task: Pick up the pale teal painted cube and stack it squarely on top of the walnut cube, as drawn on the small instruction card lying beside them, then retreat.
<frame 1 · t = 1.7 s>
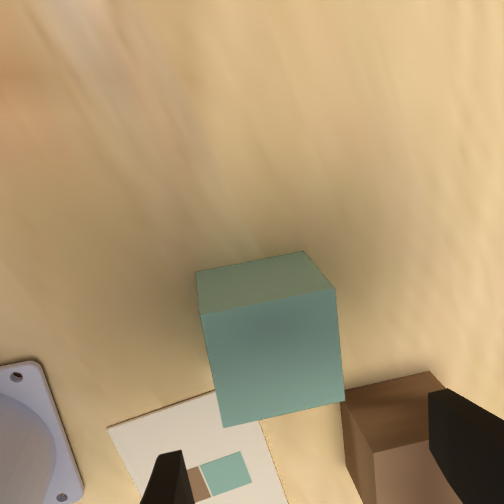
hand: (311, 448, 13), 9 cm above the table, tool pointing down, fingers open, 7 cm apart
walnut block: (386, 418, 25), on the table
teal block: (257, 309, 21), on the table
instruction page: (208, 478, 24), on the table
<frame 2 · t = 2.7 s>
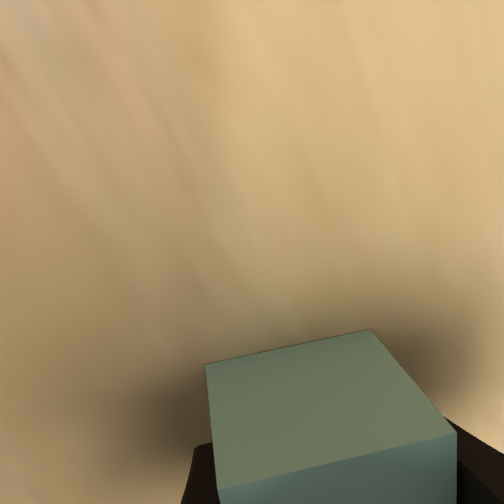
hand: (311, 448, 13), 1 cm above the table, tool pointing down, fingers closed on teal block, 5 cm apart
teal block: (298, 415, 14), on the table, touching gripper
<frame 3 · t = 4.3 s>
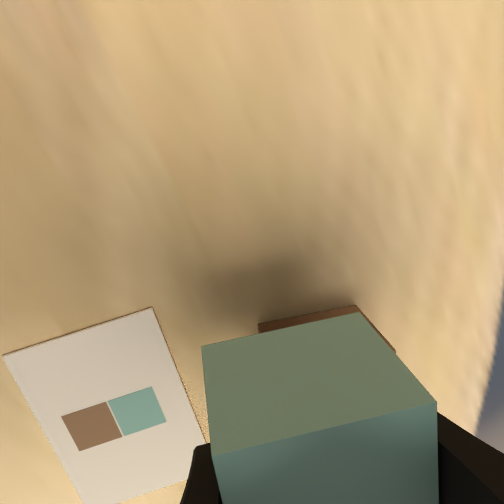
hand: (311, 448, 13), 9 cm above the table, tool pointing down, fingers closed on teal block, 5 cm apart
walnut block: (311, 356, 23), on the table
teal block: (291, 395, 15), point 7 cm above the table, touching gripper
instruction page: (118, 416, 22), on the table
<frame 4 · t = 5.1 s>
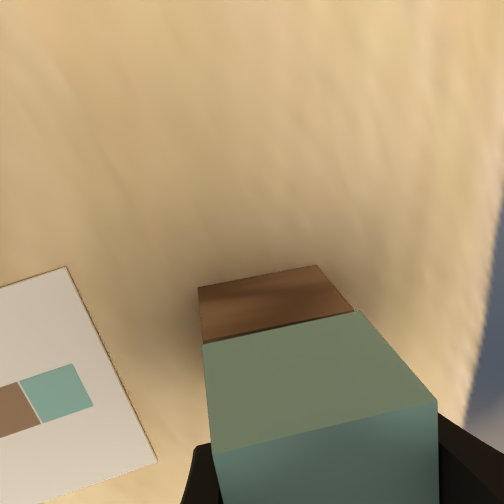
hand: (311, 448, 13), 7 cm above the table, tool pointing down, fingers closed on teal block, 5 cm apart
walnut block: (265, 327, 20), on the table
teal block: (292, 394, 15), point 5 cm above the table, touching gripper
instruction page: (35, 399, 19), on the table
when the fingers open (7 cm above the table, at t = 5.6 s): teal block stays where it is, resting on walnut block.
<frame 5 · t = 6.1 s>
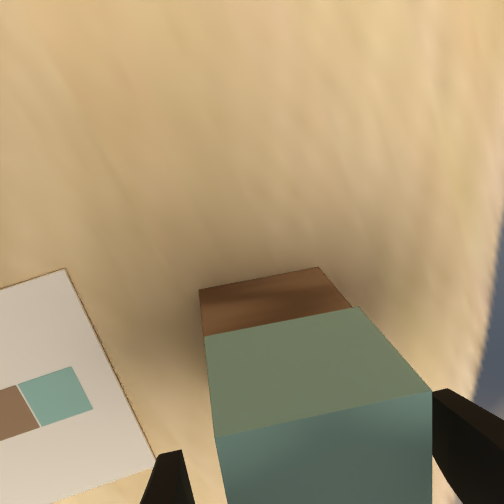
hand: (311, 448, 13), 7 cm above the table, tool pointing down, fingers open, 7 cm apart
walnut block: (266, 330, 19), on the table, touching teal block
teal block: (290, 387, 15), point 4 cm above the table, touching walnut block
instruction page: (33, 402, 19), on the table
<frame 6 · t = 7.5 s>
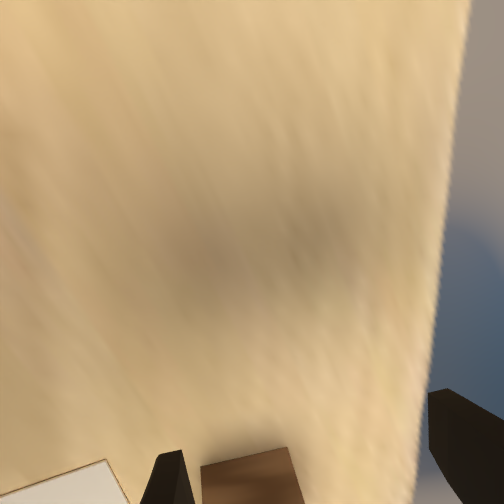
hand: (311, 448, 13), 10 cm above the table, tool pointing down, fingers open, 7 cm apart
walnut block: (250, 489, 26), on the table, touching teal block
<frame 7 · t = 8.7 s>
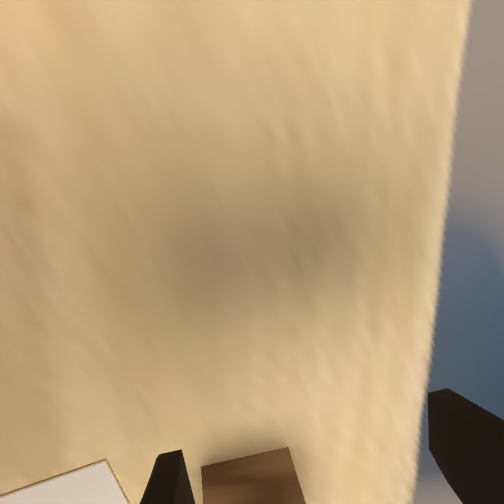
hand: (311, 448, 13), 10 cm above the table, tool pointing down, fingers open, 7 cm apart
walnut block: (250, 489, 26), on the table, touching teal block
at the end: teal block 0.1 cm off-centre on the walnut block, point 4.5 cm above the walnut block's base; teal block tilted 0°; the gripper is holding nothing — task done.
